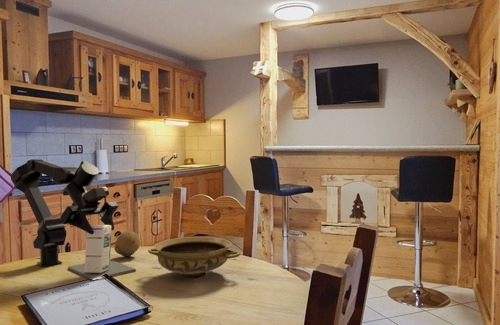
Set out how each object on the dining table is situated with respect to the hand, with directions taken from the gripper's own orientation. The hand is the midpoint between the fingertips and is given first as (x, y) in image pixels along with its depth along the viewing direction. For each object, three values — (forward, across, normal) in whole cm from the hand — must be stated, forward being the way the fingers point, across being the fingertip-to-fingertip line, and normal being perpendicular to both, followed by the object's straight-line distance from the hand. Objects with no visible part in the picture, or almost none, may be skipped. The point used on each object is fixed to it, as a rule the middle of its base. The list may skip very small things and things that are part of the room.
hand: (103, 231), depth 121 cm
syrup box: (+8, -1, +10) cm, 13 cm away
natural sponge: (+2, +20, +17) cm, 27 cm away
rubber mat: (+6, +3, +13) cm, 15 cm away
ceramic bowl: (+29, +12, -9) cm, 32 cm away
